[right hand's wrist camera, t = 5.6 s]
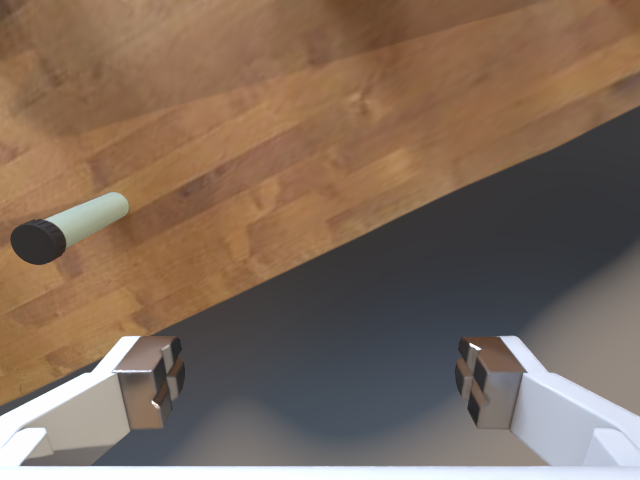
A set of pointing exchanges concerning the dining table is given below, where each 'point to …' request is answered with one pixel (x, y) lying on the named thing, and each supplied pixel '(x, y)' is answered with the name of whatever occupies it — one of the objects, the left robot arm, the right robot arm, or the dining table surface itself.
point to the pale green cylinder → (90, 217)
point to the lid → (38, 241)
